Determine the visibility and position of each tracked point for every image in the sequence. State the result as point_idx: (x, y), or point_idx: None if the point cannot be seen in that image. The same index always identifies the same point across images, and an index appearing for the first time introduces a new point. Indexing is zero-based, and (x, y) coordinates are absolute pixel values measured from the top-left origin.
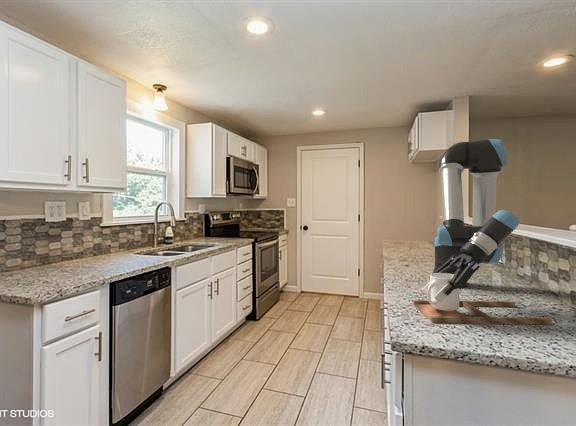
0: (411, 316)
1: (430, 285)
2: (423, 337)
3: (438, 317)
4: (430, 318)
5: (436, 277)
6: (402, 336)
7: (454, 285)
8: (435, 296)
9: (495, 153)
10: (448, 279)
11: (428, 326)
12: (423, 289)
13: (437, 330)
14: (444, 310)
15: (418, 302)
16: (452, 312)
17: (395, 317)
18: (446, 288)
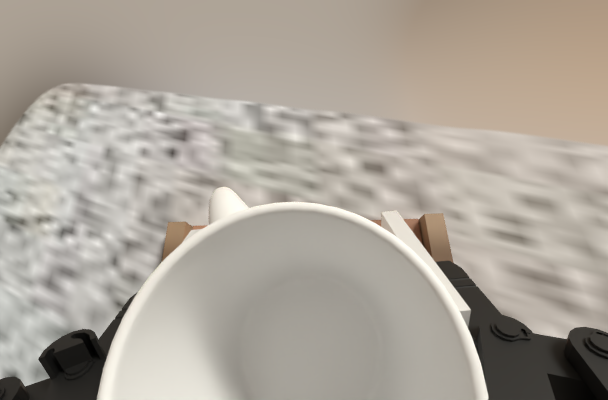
0: (256, 170)
1: (214, 195)
2: (55, 157)
3: (165, 250)
4: (202, 228)
5: (431, 323)
6: (78, 104)
7: (44, 385)
8: (186, 236)
9: None
10: (109, 359)
11: (142, 202)
12: (383, 218)
13: (99, 221)
14: (249, 317)
15: (426, 238)
16: None
17: (245, 114)
18: None
